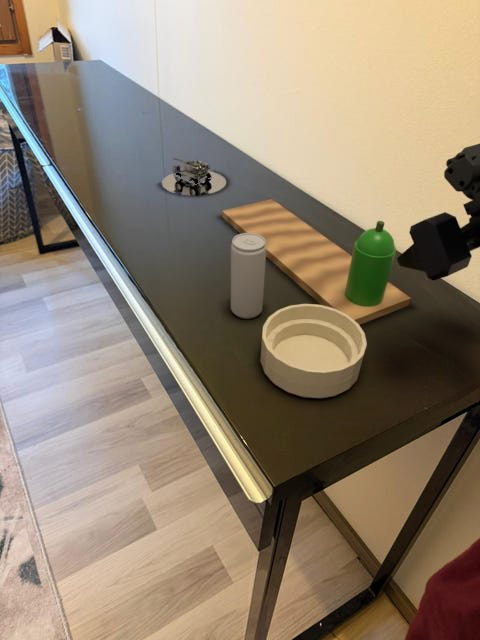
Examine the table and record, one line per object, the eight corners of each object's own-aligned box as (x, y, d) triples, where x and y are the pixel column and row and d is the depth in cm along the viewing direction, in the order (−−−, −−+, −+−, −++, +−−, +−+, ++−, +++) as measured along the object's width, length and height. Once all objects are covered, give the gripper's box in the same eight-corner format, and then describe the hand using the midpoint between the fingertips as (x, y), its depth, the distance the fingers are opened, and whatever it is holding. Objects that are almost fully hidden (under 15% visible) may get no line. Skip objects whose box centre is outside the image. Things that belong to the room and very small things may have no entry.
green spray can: (390, 297, 70) (411, 224, 62) (366, 311, 67) (384, 236, 59) (361, 280, 73) (377, 209, 66) (336, 293, 71) (350, 220, 63)
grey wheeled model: (193, 165, 115) (192, 143, 111) (239, 180, 108) (239, 158, 104) (148, 183, 106) (145, 159, 102) (195, 201, 99) (194, 177, 95)
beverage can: (241, 297, 72) (242, 229, 64) (268, 307, 70) (272, 238, 62) (224, 313, 69) (224, 243, 61) (252, 324, 67) (255, 253, 59)
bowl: (367, 346, 63) (375, 318, 60) (346, 414, 54) (353, 385, 51) (279, 322, 67) (282, 294, 64) (245, 381, 58) (246, 352, 55)
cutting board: (408, 305, 71) (411, 298, 70) (348, 329, 66) (350, 321, 65) (271, 205, 98) (271, 198, 97) (221, 217, 93) (221, 210, 92)
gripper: (565, 112, 48) (446, 178, 62) (454, 142, 40) (346, 210, 54) (605, 209, 48) (477, 253, 62) (502, 259, 40) (381, 297, 54)
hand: (423, 251), depth 58 cm, fingers open, 9 cm apart
